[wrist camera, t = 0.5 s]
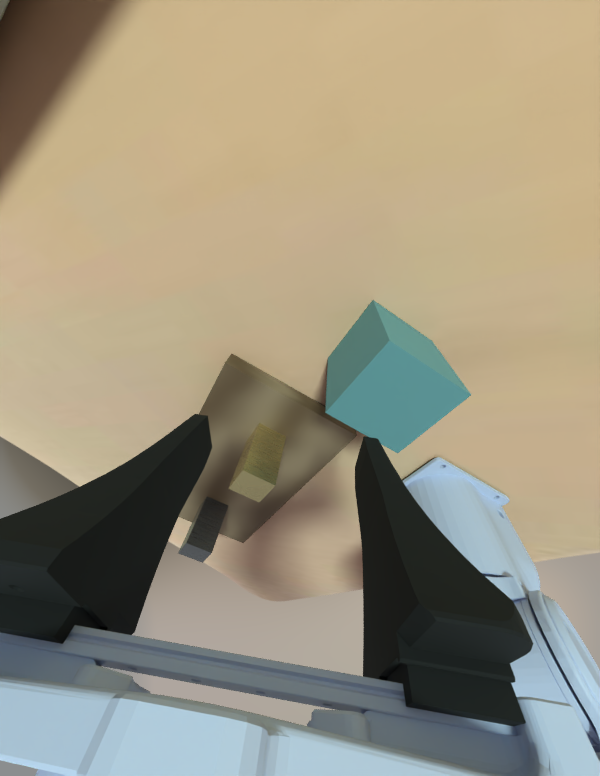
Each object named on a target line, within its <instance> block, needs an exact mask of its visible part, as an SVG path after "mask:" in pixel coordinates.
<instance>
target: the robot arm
mask: <svg viewBox="0 0 600 776" xmlns="http://www.w3.org/2000/svg"><path fill="white" fill-rule="evenodd" d="M211 450H212V441H211V434H210V428H209V421H208V416H206V415H198V414H195V415H193V416H192V417H190V418H189V419H188V420H186V421H185V422H184V423H182V424H181V425H180V426H178V427H177V428H176V429H174V430H173V431H172V432H170V433H169V434H168V435H166V436H165V437H164V438H162V439H161V440H159V441H158V442H157V443H155V444H154V445H152V446H151V447H149V448H148V449H146V450H145V451H143V452H142V453H140V454H139V455H137V456H136V457H134V458H133V459H131V460H129V461H128V462H126V463H124V464H123V465H121V466H119V467H117V468H115V469H114V470H112V471H110V472H108V473H106V474H105V475H103V476H101V477H99V478H97V479H95V480H93V481H91V482H89V483H87V484H85V485H83V486H81V487H78V488H76V489H74V490H72V491H70V492H67V493H65V494H63V495H61V496H58V497H56V498H54V499H51V500H49V501H46V502H44V503H41V504H39V505H36V506H34V507H31V508H28V509H26V510H23V511H20V512H18V513H15V514H12V515H10V516H7V517H4V518H1V519H0V760H1V761H6V762H11V763H15V764H19V765H23V766H28V767H33V768H37V769H38V771H37V773H36V775H35V776H600V670H599V668H598V666H597V664H596V663H595V661H594V660H593V658H592V656H591V654H590V653H589V651H588V649H587V648H586V646H585V644H584V643H583V641H582V639H581V638H580V636H579V635H578V633H577V632H576V630H575V628H574V627H573V625H572V624H571V622H570V621H569V619H568V618H567V616H566V615H565V613H564V612H563V610H562V609H561V608H560V606H559V605H558V604H557V603H556V602H555V601H554V600H553V599H551V598H549V597H548V596H546V595H544V594H543V593H542V592H540V580H539V575H538V572H537V569H536V567H535V565H534V563H533V561H532V560H531V558H530V556H529V554H528V552H527V551H526V549H525V547H524V545H523V543H522V542H521V540H520V538H519V536H518V535H517V533H516V531H515V529H514V527H513V526H512V524H511V522H510V520H509V518H508V517H507V515H506V513H505V511H504V510H503V508H502V506H503V505H505V504H507V503H508V502H509V498H508V497H507V496H506V495H504V494H502V493H501V492H499V491H497V490H496V489H494V488H492V487H490V486H489V485H487V484H485V483H483V482H482V481H480V480H478V479H477V478H475V477H473V476H471V475H470V474H468V473H466V472H465V471H463V470H461V469H459V468H458V467H456V466H454V465H452V464H451V463H449V462H447V461H446V460H444V459H442V458H438V457H437V458H434V459H433V460H431V461H430V462H428V463H427V464H426V465H424V466H423V467H421V468H420V469H419V470H417V471H416V472H414V473H413V474H412V475H410V476H409V477H407V478H406V479H404V480H403V481H402V480H401V478H400V476H399V475H398V473H397V472H396V470H395V468H394V467H393V465H392V463H391V462H390V460H389V458H388V456H387V454H386V453H385V451H384V449H383V447H382V445H381V443H380V441H379V440H378V439H377V438H371V437H363V441H362V444H361V448H360V452H359V455H358V459H357V462H356V466H355V491H356V499H357V507H358V515H359V523H360V531H361V540H362V557H363V595H364V596H363V598H364V649H363V650H364V651H363V659H364V660H363V677H362V676H357V675H351V674H345V673H340V672H334V671H329V670H323V669H318V668H312V667H306V666H301V665H295V664H290V663H284V662H279V661H273V660H267V659H261V658H256V657H250V656H244V655H239V654H234V653H228V652H222V651H216V650H211V649H206V648H200V647H195V646H189V645H183V644H178V643H172V642H166V641H161V640H155V639H149V638H144V637H138V636H133V635H132V634H133V633H134V632H135V629H136V626H137V623H138V620H139V617H140V614H141V611H142V609H143V606H144V602H145V600H146V596H147V594H148V591H149V588H150V586H151V583H152V580H153V578H154V575H155V572H156V570H157V567H158V564H159V562H160V559H161V557H162V554H163V552H164V549H165V547H166V544H167V542H168V539H169V537H170V535H171V532H172V530H173V528H174V525H175V523H176V520H177V518H178V516H179V514H180V512H181V510H182V508H183V507H184V505H185V503H186V501H187V499H188V497H189V496H190V494H191V492H192V490H193V488H194V486H195V485H196V483H197V481H198V479H199V477H200V475H201V473H202V471H203V469H204V468H205V465H206V463H207V460H208V458H209V455H210V452H211ZM102 666H104V667H110V668H115V669H120V670H126V671H132V672H137V673H142V674H148V675H153V676H158V677H163V678H169V679H175V680H180V681H185V682H190V683H196V684H202V685H206V686H212V687H217V688H223V689H229V690H234V691H240V692H244V693H249V694H255V695H260V696H266V697H272V698H276V699H282V700H287V701H293V702H298V703H303V704H309V705H314V706H320V707H325V708H330V709H336V710H319V709H318V710H317V709H315V710H314V711H313V712H312V719H311V721H309V723H308V724H307V726H303V725H299V724H295V723H291V722H287V721H283V720H279V719H275V718H271V717H267V716H263V715H259V714H255V713H250V712H246V711H242V710H237V709H233V708H228V707H224V706H219V705H214V704H209V703H203V702H198V701H193V700H187V699H181V698H175V697H170V696H164V695H157V694H150V692H149V691H148V690H146V689H144V688H142V687H140V686H139V685H138V684H137V683H135V682H134V681H133V677H132V676H129V675H126V674H123V673H119V672H116V671H113V670H110V669H107V668H103V667H102Z"/></svg>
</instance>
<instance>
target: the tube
mask: <svg viewBox="0 0 600 776" xmlns="http://www.w3.org/2000/svg"><path fill="white" fill-rule="evenodd" d="M9 2H10V0H0V21H1V19H2V17H3V15H4V13H5V11H6V8H7V6H8V4H9Z"/></svg>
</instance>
